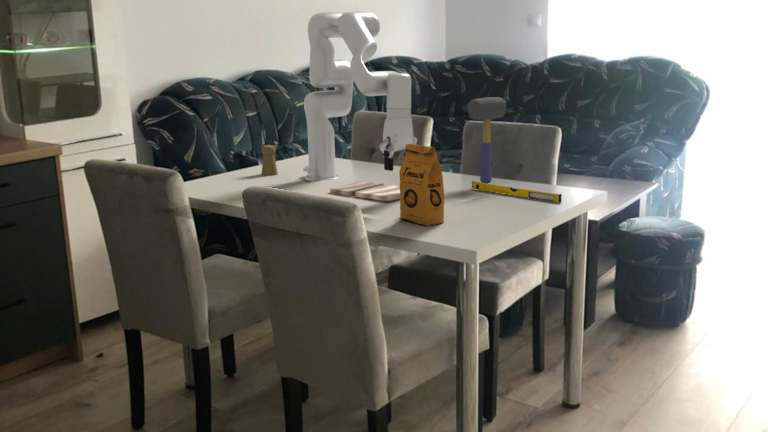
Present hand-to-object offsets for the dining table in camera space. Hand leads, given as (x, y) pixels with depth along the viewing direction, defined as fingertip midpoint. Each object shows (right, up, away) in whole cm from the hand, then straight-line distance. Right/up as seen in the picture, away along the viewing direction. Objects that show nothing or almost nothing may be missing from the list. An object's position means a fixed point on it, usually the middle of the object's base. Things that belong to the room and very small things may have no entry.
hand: (398, 167), depth 259 cm
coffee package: (+6, -17, -25) cm, 31 cm away
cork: (-48, 0, +50) cm, 69 cm away
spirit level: (+38, -9, +8) cm, 40 cm away
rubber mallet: (+31, -4, +27) cm, 41 cm away
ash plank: (-4, -8, +5) cm, 11 cm away
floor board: (-8, -9, +9) cm, 15 cm away
